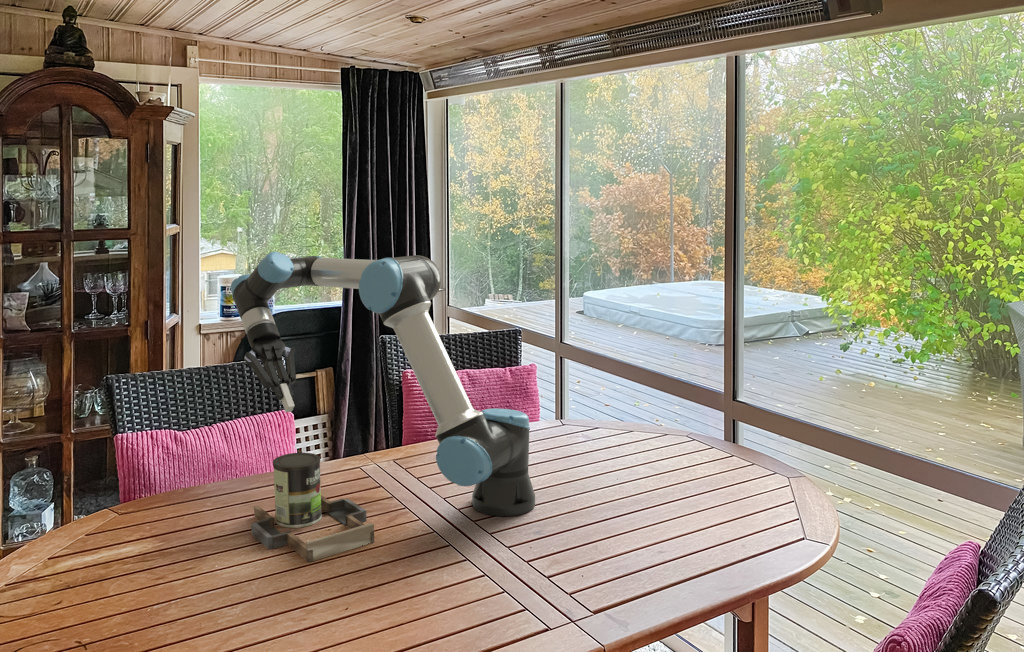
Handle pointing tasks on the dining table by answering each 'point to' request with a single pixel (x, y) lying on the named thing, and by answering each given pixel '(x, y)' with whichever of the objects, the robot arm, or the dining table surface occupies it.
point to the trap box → (322, 546)
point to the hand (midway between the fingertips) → (290, 409)
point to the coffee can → (297, 489)
